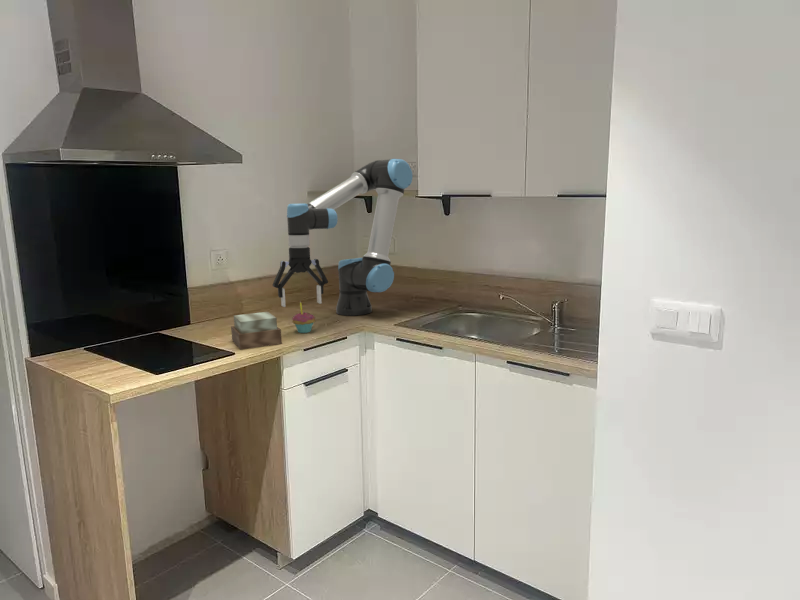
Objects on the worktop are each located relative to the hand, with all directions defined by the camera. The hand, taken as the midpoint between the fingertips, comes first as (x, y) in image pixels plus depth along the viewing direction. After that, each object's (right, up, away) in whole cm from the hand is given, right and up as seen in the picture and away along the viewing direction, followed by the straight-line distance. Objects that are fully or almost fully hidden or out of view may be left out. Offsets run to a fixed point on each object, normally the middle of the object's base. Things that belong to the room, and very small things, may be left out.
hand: (301, 304), depth 212 cm
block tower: (-14, -13, -11) cm, 22 cm away
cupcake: (+1, -10, +2) cm, 10 cm away
